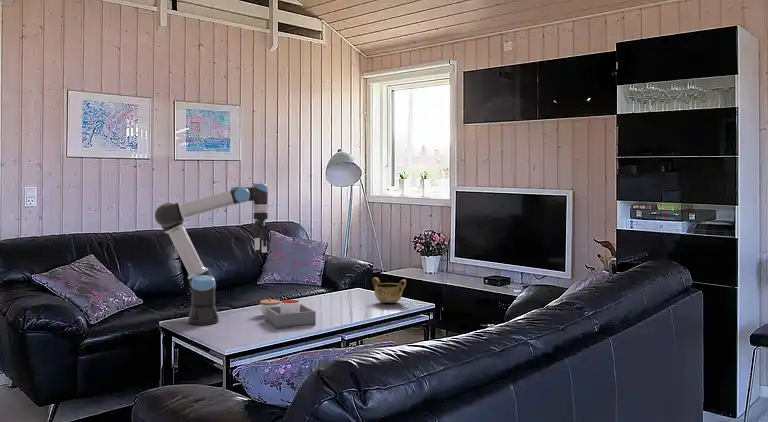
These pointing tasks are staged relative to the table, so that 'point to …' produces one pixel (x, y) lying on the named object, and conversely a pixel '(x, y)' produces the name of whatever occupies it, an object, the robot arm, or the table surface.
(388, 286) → the ceramic bowl
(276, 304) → the lidded jar
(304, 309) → the bin
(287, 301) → the cup
